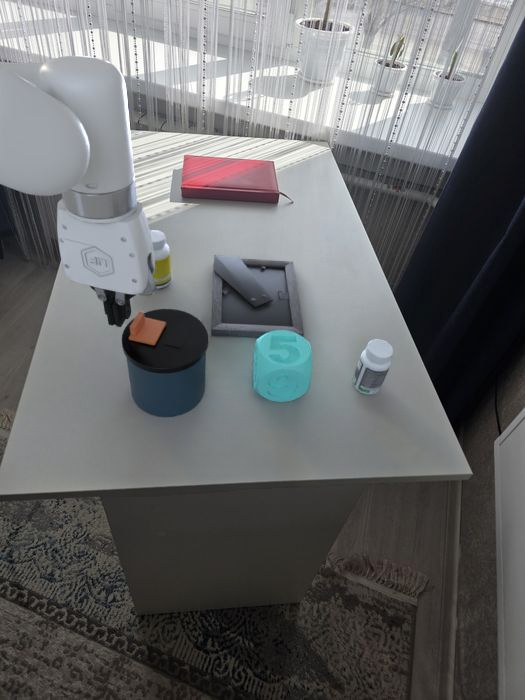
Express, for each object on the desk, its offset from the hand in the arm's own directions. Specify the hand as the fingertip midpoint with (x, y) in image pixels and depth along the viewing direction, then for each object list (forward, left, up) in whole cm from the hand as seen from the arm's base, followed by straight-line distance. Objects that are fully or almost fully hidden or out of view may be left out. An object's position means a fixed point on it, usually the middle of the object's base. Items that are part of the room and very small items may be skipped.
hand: (119, 319), depth 63 cm
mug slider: (+4, 0, -1) cm, 4 cm away
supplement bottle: (-5, +24, -12) cm, 27 cm away
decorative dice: (+22, +6, -12) cm, 26 cm away
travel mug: (+6, 0, -12) cm, 14 cm away
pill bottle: (+36, +10, -12) cm, 40 cm away
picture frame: (+14, +25, -12) cm, 31 cm away
